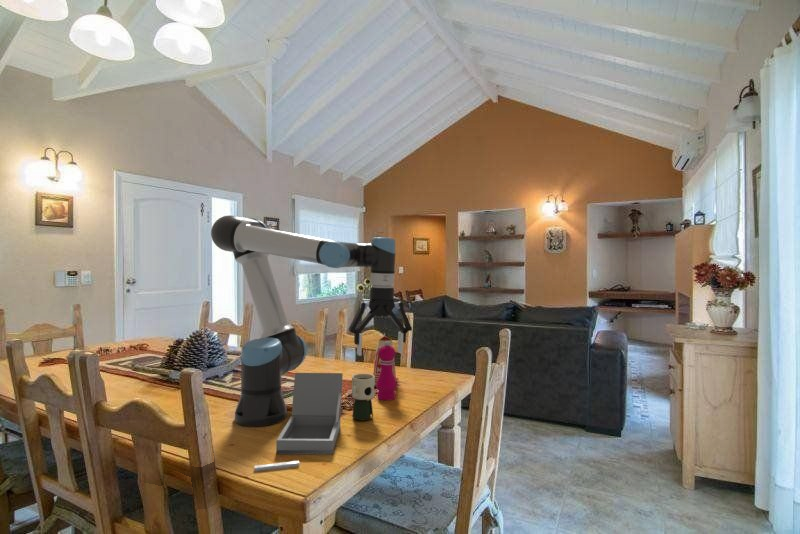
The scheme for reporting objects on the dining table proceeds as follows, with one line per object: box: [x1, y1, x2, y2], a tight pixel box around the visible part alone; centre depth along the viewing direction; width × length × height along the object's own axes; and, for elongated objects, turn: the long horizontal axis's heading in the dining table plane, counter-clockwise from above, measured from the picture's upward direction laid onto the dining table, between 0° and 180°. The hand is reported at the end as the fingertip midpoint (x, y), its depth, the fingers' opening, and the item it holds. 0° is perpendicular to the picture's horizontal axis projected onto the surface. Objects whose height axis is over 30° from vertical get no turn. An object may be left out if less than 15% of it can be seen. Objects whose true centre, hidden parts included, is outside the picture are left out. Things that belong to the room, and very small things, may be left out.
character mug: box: [351, 373, 376, 421], centre depth 134 cm, size 11×7×13 cm, turn 152°
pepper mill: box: [375, 341, 397, 401], centre depth 154 cm, size 7×7×20 cm
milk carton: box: [372, 332, 397, 383], centre depth 173 cm, size 9×9×20 cm
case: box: [275, 372, 343, 455], centre depth 120 cm, size 14×22×15 cm, turn 1°
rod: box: [253, 460, 300, 473], centre depth 102 cm, size 10×1×1 cm, turn 106°
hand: (379, 353), depth 138 cm, fingers open, 13 cm apart
